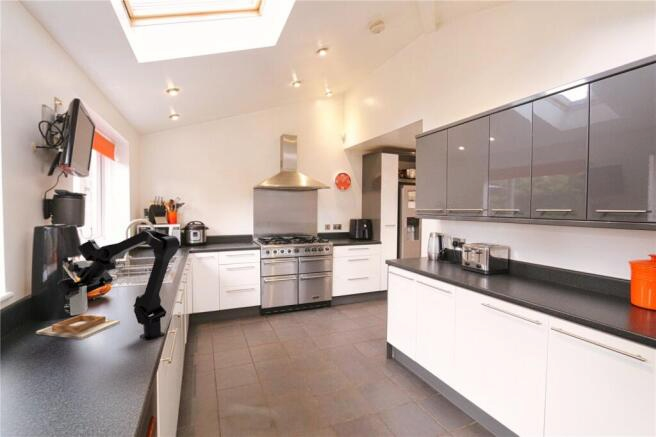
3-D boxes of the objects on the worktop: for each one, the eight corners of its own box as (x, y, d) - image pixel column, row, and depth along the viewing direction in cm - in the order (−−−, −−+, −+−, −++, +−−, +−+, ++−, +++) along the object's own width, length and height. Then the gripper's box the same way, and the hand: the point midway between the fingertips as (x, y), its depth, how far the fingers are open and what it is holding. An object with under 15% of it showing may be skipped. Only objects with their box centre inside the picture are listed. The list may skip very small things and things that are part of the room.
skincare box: (74, 311, 126) (73, 281, 126) (87, 309, 128) (86, 280, 128) (69, 315, 121) (68, 285, 120) (83, 314, 123) (82, 283, 122)
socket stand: (119, 323, 131) (119, 315, 130) (82, 339, 115) (82, 330, 115) (77, 319, 135) (77, 311, 135) (36, 333, 120) (35, 325, 120)
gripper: (106, 251, 132) (86, 276, 135) (59, 258, 114) (37, 287, 116) (122, 270, 131) (101, 294, 133) (78, 280, 112) (55, 309, 115)
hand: (75, 295), depth 125 cm, fingers closed on skincare box, 7 cm apart
